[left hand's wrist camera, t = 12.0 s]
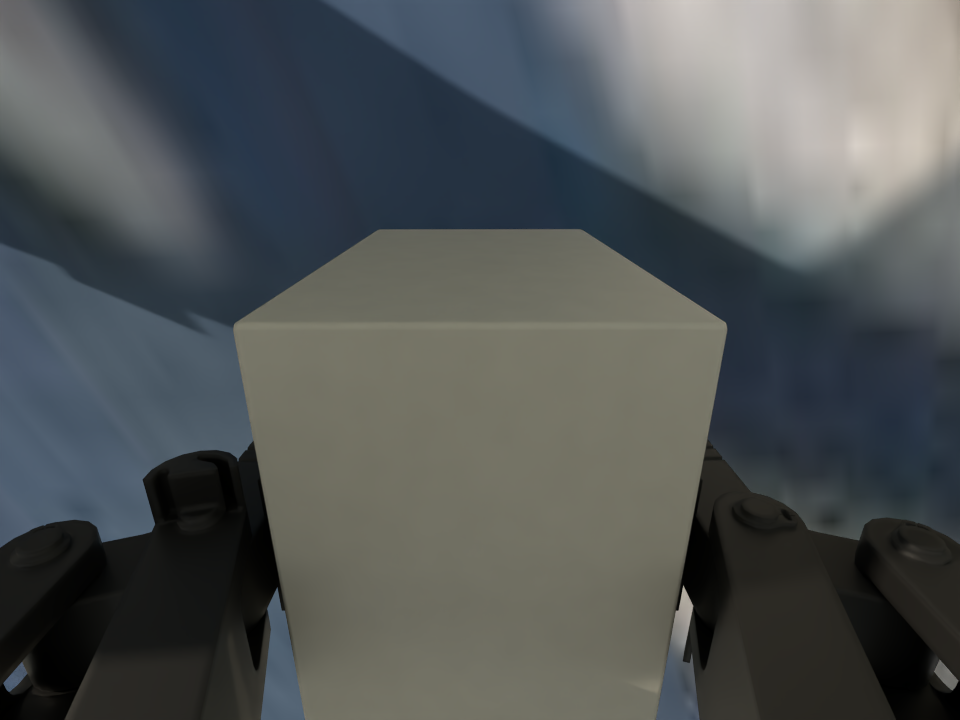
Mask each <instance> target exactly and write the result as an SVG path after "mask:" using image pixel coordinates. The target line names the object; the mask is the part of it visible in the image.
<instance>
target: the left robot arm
mask: <svg viewBox="0 0 960 720" xmlns="http://www.w3.org/2000/svg"><path fill="white" fill-rule="evenodd" d="M143 483H144V486H145V490H146V493H147V497H148V500H149V504H150V507H151V511H152V514H153V518H154V521H155V526H154V528H153V530H152V532H150V533H146V534H143V535H138V536H133V537H128V538H123V539H118V540H113V541H108V542H103V543H102V542H101V539H100V536H99V533H98V530H97V527H96V526H94V525H93V524H92V523H90V522H89V521H80V520H69V521H62V522H54V523H50V524H46V525H45V526H44V525H43V526H40V527H37V528H34V529H32V530H30V531H29V532H27V533H25V534H23V535H20V536H18V537H16V538H14V539H13V540H11V541H10V542H8V543H7V544H5V545H4V546H2V547H1V548H0V720H261V711H262V702H263V693H264V684H265V675H266V666H267V658H268V649H269V640H270V631H271V628H270V621H269V616H268V611H267V607H268V605H269V603H270V601H271V599H272V597H273V595H274V593H275V591H276V589H277V587H278V592H279V598H280V603H281V608H282V610H285V607H284V602H283V596H282V591H281V585H280V580H279V575H278V569H277V564H276V558H275V553H274V548H273V542H272V537H271V531H270V526H269V521H268V515H267V510H266V504H265V499H264V494H263V488H262V483H261V477H260V472H259V467H258V461H257V456H256V450H255V445H254V441H253V442H252V443H251V444H250V446H249V447H248V450H245V452H244V453H243V454H242V455H241V457H240V458H239V461H238V462H237V458H236V457H235V456H233V455H232V454H230V453H229V452H224V451H219V450H208V451H197V452H193V453H188V454H183V455H181V456H178V457H175V458H173V459H170V460H168V461H165V462H164V463H162V464H160V465H159V466H157V467H155V468H154V469H152V470H151V471H150V472H149V473H148V474H147V475H146V476H145V478H144V479H143ZM683 585H684V587H685V589H686V591H687V594H688V596H689V598H690V600H691V602H692V604H693V611H692V616H691V621H690V626H689V631H688V636H687V641H686V646H685V651H684V657H683V661H684V662H688V663H690V659H691V654H692V656H693V665H694V674H695V683H696V692H697V700H698V709H699V718H700V720H960V544H958V543H957V542H955V541H954V540H952V539H951V538H949V537H948V536H946V535H944V534H942V533H939V532H937V531H935V530H933V529H932V528H930V527H928V526H925V525H922V524H919V523H918V524H917V523H915V522H912V521H908V520H901V519H893V518H879V519H872V520H871V521H869V522H868V523H867V524H865V525H864V528H863V531H862V534H861V537H860V540H859V541H858V540H853V539H848V538H843V537H838V536H834V535H829V534H824V533H819V532H815V531H811V530H808V529H807V527H806V525H805V523H804V522H803V521H802V519H801V518H800V517H799V515H798V514H797V513H796V512H794V511H793V510H792V509H790V508H789V507H787V506H786V505H785V504H783V503H781V502H779V501H776V500H774V499H772V498H770V497H768V496H764V495H760V494H756V493H752V492H750V490H749V489H748V488H747V487H746V486H745V484H744V483H743V482H742V481H741V479H740V478H739V477H738V476H737V475H736V473H735V472H734V471H733V470H732V469H731V467H730V466H729V465H728V464H727V462H726V461H725V460H722V456H721V455H720V454H719V453H718V451H717V450H716V449H713V445H712V444H711V443H710V442H709V441H708V439H707V443H706V449H705V454H704V459H703V465H702V470H701V476H700V481H699V487H698V492H697V498H696V503H695V508H694V514H693V519H692V525H691V530H690V536H689V541H688V547H687V552H686V558H685V563H684V568H683V574H682V579H681V585H680V590H679V596H678V601H677V607H676V611H678V610H679V605H680V600H681V594H682V589H683ZM939 659H940V660H941V661H942V662H943V663H944V664H945V666H946V667H947V668H948V669H949V670H950V671H951V672H952V674H953V675H954V676H955V677H956V678H957V679H958V680H959V681H958V683H957V685H956V687H955V689H954V690H953V691H952V690H950V689H949V688H948V687H947V686H946V685H945V684H944V683H943V682H942V681H941V680H940V678H939V677H938V676H937V675H936V674H935V673H934V670H935V668H936V666H937V664H938V661H939ZM21 662H23V665H24V667H25V669H26V671H27V673H28V674H27V675H26V676H25V677H24V678H23V680H22V681H21V682H20V683H19V684H18V685H17V686H16V687H15V688H14V689H13V690H11V691H10V692H8V691H7V690H6V688H5V686H4V684H3V683H4V681H5V680H6V679H7V678H8V677H9V676H10V675H11V673H12V672H13V671H14V670H15V669H16V668H17V667H18V665H19V664H20V663H21Z"/></svg>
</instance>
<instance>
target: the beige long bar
mask: <svg viewBox="0 0 960 720" xmlns="http://www.w3.org/2000/svg"><path fill="white" fill-rule="evenodd" d="M233 331H234V337H235V342H236V348H237V353H238V358H239V364H240V369H241V375H242V380H243V385H244V391H245V396H246V402H247V407H248V412H249V418H250V423H251V429H252V434H253V439H254V445H255V450H256V456H257V461H258V467H259V472H260V477H261V483H262V488H263V494H264V499H265V504H266V510H267V515H268V521H269V526H270V531H271V537H272V542H273V548H274V553H275V558H276V564H277V569H278V575H279V580H280V585H281V591H282V596H283V602H284V607H285V612H286V618H287V623H288V629H289V634H290V639H291V645H292V650H293V656H294V661H295V666H296V672H297V677H298V683H299V688H300V693H301V699H302V704H303V710H304V715H305V720H656V716H657V710H658V705H659V699H660V694H661V688H662V683H663V677H664V672H665V667H666V661H667V656H668V650H669V645H670V639H671V634H672V628H673V623H674V617H675V612H676V607H677V601H678V596H679V590H680V585H681V579H682V574H683V568H684V563H685V558H686V552H687V547H688V541H689V536H690V530H691V525H692V519H693V514H694V508H695V503H696V498H697V492H698V487H699V481H700V476H701V470H702V465H703V459H704V454H705V449H706V443H707V438H708V432H709V427H710V421H711V416H712V410H713V405H714V400H715V394H716V389H717V383H718V378H719V372H720V367H721V361H722V356H723V350H724V345H725V340H726V334H727V325H726V323H725V322H724V321H722V320H721V319H719V318H718V317H716V316H715V315H713V314H711V313H710V312H708V311H707V310H705V309H704V308H702V307H701V306H699V305H698V304H696V303H694V302H693V301H691V300H690V299H688V298H687V297H685V296H684V295H682V294H681V293H679V292H677V291H676V290H674V289H673V288H671V287H670V286H668V285H667V284H665V283H664V282H662V281H660V280H659V279H657V278H656V277H654V276H653V275H651V274H650V273H648V272H647V271H645V270H643V269H642V268H640V267H639V266H637V265H636V264H634V263H633V262H631V261H630V260H628V259H626V258H625V257H623V256H622V255H620V254H619V253H617V252H616V251H614V250H613V249H611V248H609V247H608V246H606V245H605V244H603V243H602V242H600V241H599V240H597V239H596V238H594V237H592V236H591V235H589V234H588V233H586V232H585V231H583V230H581V229H379V230H377V231H376V232H374V233H372V234H371V235H369V236H368V237H366V238H365V239H363V240H362V241H360V242H359V243H357V244H356V245H354V246H353V247H351V248H349V249H348V250H346V251H345V252H343V253H342V254H340V255H339V256H337V257H336V258H334V259H333V260H331V261H330V262H328V263H326V264H325V265H323V266H322V267H320V268H319V269H317V270H316V271H314V272H313V273H311V274H310V275H308V276H307V277H305V278H303V279H302V280H300V281H299V282H297V283H296V284H294V285H293V286H291V287H290V288H288V289H287V290H285V291H284V292H282V293H280V294H279V295H277V296H276V297H274V298H273V299H271V300H270V301H268V302H267V303H265V304H264V305H262V306H261V307H259V308H257V309H256V310H254V311H253V312H251V313H250V314H248V315H247V316H245V317H244V318H242V319H241V320H239V321H238V322H236V323H235V324H234V329H233Z"/></svg>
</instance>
